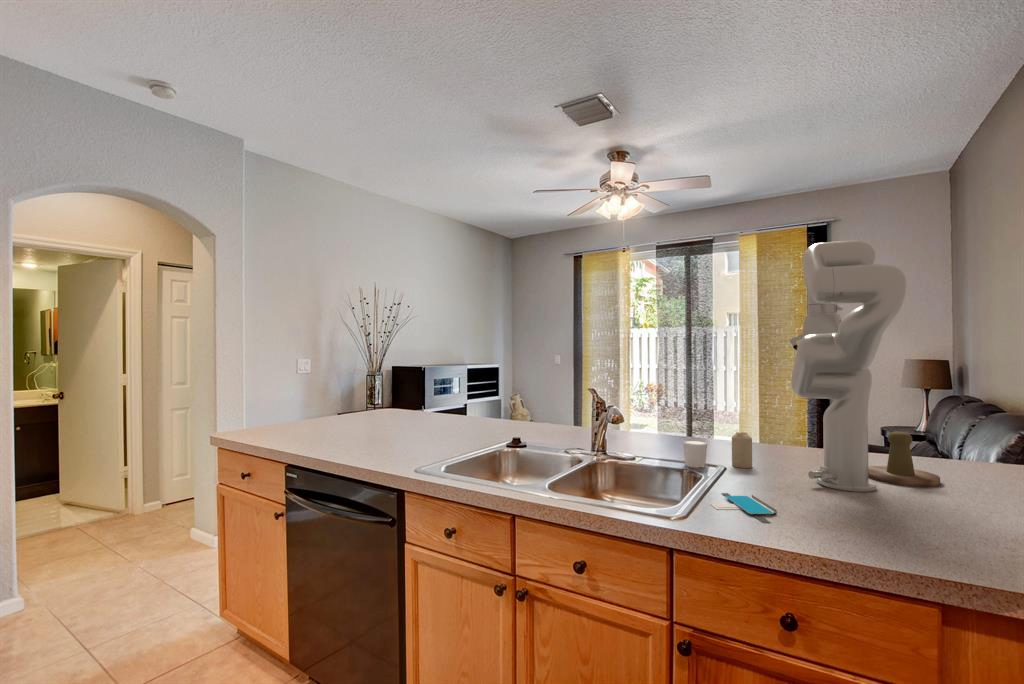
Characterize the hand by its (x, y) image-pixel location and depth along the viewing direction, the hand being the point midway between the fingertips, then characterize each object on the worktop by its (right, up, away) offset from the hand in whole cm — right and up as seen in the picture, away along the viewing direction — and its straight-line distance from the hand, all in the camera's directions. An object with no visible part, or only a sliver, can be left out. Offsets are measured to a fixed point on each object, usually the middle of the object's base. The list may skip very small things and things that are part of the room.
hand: (822, 366), depth 150 cm
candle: (-26, -30, -3) cm, 40 cm away
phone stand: (-44, -30, -40) cm, 67 cm away
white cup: (-39, -30, -2) cm, 49 cm away
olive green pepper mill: (+10, -28, -17) cm, 34 cm away
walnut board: (+10, -29, -17) cm, 36 cm away
